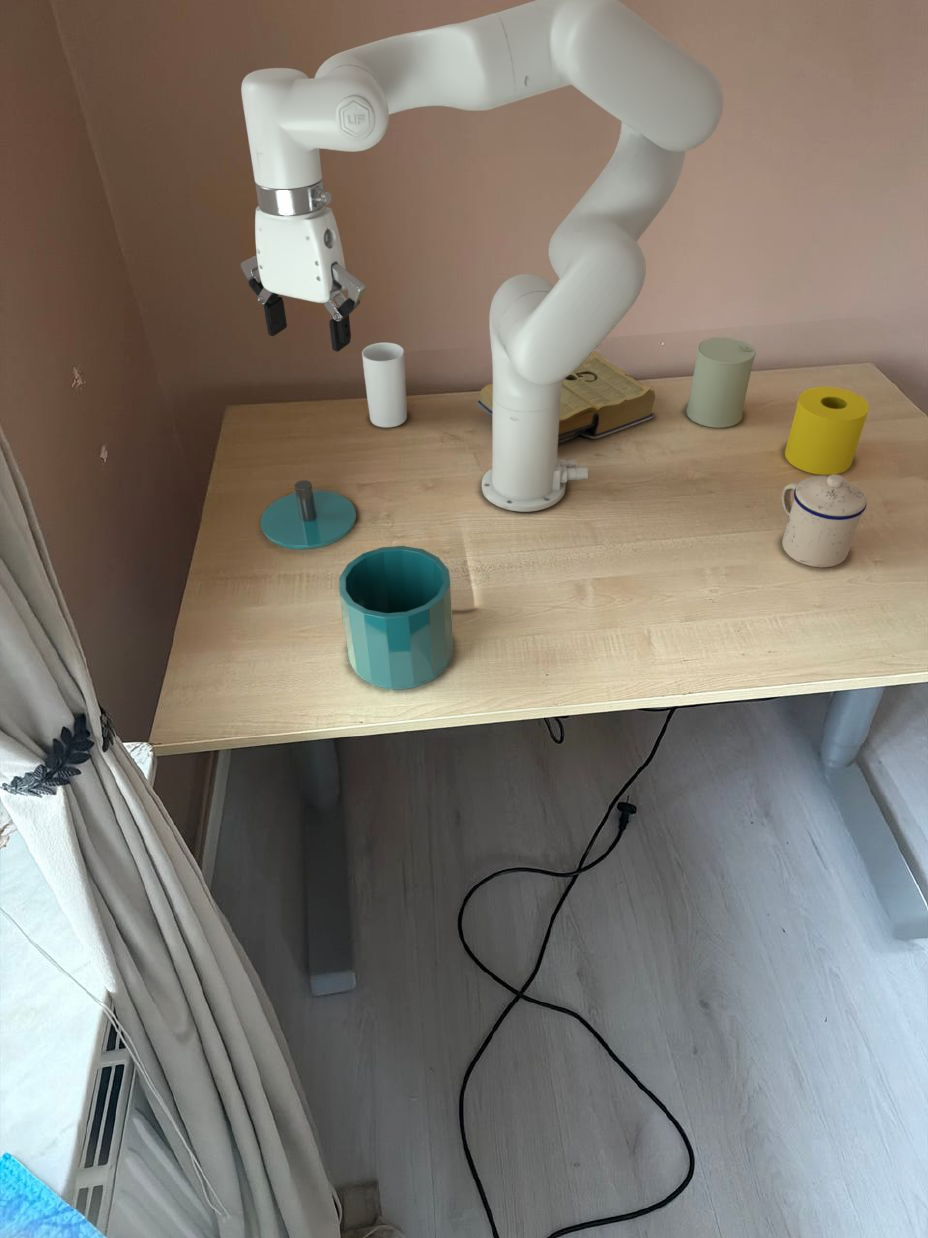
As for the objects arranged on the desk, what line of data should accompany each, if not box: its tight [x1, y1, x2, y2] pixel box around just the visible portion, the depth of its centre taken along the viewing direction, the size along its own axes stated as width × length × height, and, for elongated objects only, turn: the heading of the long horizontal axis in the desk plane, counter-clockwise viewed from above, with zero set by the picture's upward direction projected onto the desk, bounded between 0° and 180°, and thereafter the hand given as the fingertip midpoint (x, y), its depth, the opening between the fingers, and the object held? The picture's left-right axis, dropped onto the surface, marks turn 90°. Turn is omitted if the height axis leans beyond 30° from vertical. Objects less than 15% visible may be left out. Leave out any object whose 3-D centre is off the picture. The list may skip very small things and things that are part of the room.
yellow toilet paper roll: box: [784, 386, 870, 476], centre depth 137 cm, size 10×10×9 cm
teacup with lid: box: [781, 474, 868, 568], centre depth 120 cm, size 12×9×12 cm
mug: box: [361, 342, 408, 428], centre depth 148 cm, size 10×7×12 cm, turn 21°
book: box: [476, 350, 656, 444], centre depth 148 cm, size 25×17×6 cm
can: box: [685, 336, 756, 429], centre depth 147 cm, size 9×9×12 cm
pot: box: [338, 545, 454, 690], centre depth 106 cm, size 13×13×12 cm
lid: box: [260, 479, 357, 550], centre depth 127 cm, size 14×14×7 cm
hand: (309, 339), depth 113 cm, fingers open, 9 cm apart
